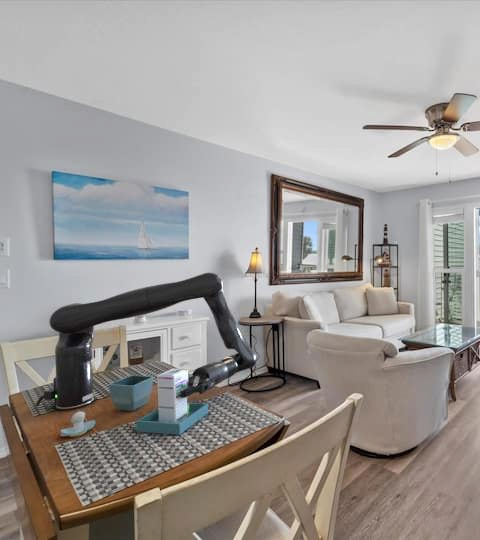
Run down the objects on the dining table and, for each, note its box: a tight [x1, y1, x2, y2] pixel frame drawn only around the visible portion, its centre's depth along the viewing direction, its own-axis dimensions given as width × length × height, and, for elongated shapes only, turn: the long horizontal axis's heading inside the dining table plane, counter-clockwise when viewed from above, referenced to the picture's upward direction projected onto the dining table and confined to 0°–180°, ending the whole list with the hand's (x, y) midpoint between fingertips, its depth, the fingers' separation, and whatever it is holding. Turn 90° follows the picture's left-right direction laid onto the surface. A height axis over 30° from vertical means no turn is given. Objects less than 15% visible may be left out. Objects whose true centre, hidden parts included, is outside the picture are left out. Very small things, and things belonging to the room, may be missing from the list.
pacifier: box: [60, 410, 96, 438], centre depth 91 cm, size 7×6×6 cm
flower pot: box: [108, 374, 154, 412], centre depth 107 cm, size 9×9×9 cm
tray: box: [135, 402, 209, 436], centre depth 98 cm, size 13×13×3 cm
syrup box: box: [156, 368, 190, 423], centre depth 97 cm, size 6×6×14 cm
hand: (170, 393), depth 96 cm, fingers open, 8 cm apart
